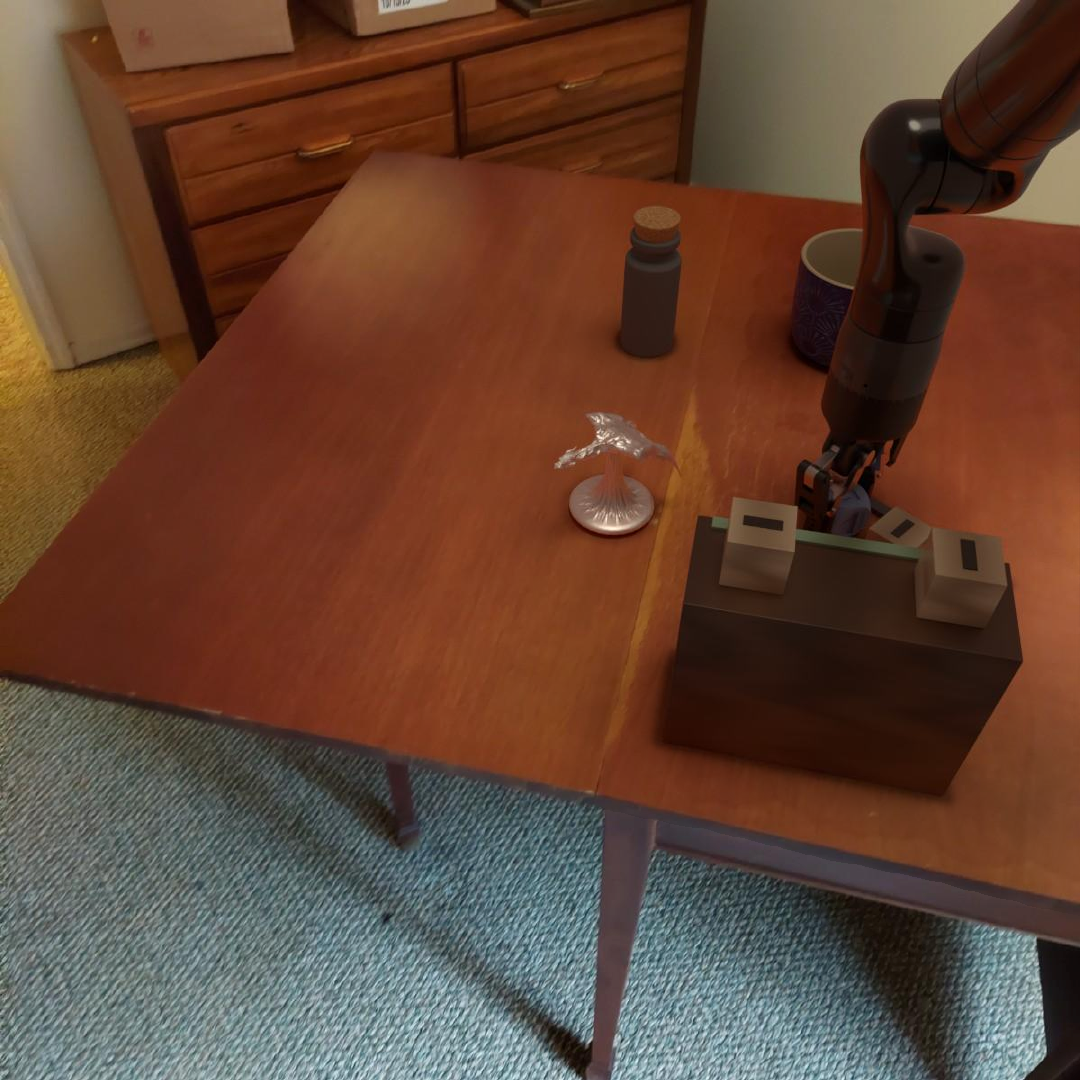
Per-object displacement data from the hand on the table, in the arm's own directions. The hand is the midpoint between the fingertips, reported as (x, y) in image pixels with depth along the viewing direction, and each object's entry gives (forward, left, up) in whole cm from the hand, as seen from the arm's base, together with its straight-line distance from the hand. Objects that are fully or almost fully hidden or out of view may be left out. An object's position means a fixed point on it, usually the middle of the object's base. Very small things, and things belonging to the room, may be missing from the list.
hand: (834, 521), depth 86 cm
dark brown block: (-11, +19, 0) cm, 22 cm away
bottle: (+31, -8, -1) cm, 32 cm away
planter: (+16, -23, -1) cm, 28 cm away
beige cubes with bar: (-5, -2, 0) cm, 5 cm away
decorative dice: (0, 0, -1) cm, 1 cm away
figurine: (+15, +14, -1) cm, 21 cm away
